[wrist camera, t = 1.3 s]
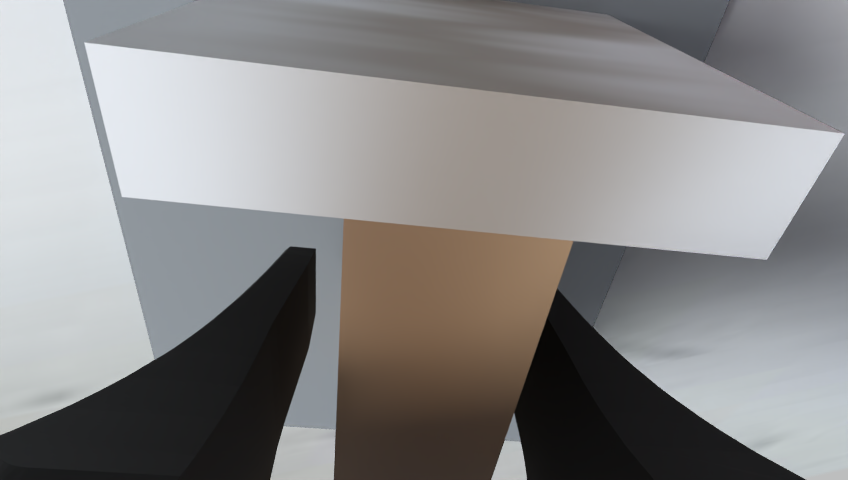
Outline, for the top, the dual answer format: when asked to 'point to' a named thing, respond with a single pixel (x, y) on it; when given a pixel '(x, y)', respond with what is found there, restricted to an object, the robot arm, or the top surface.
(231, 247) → the mat
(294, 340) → the robot arm
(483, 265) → the white-capped wooden block
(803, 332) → the top surface
